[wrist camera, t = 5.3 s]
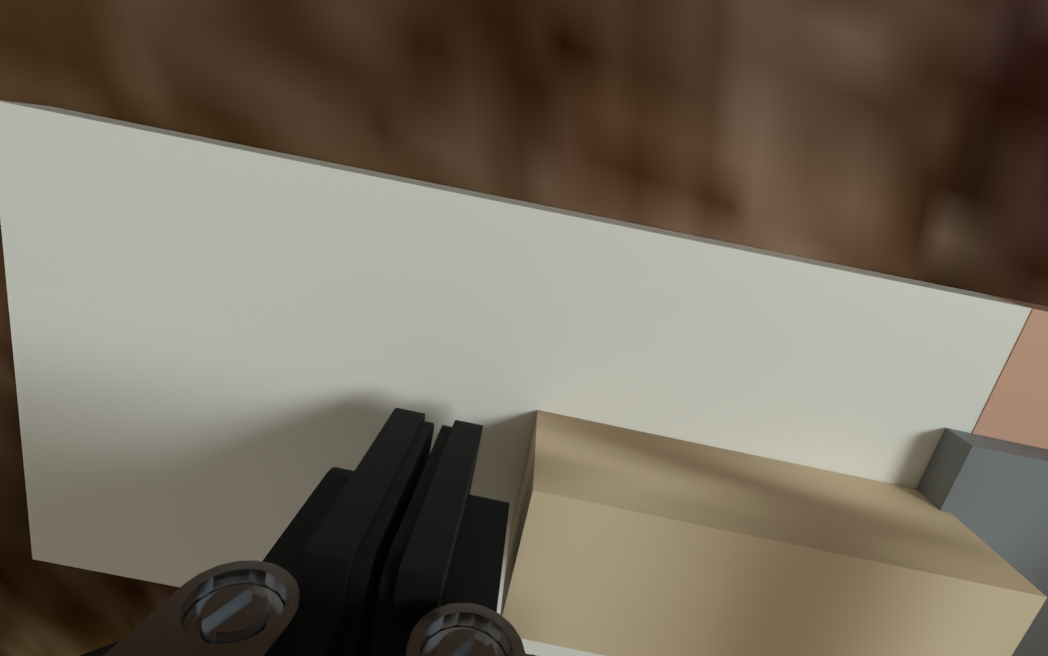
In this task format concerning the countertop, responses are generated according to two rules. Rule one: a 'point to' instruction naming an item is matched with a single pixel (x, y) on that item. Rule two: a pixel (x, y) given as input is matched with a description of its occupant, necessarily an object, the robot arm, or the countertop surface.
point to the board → (423, 340)
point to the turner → (774, 550)
